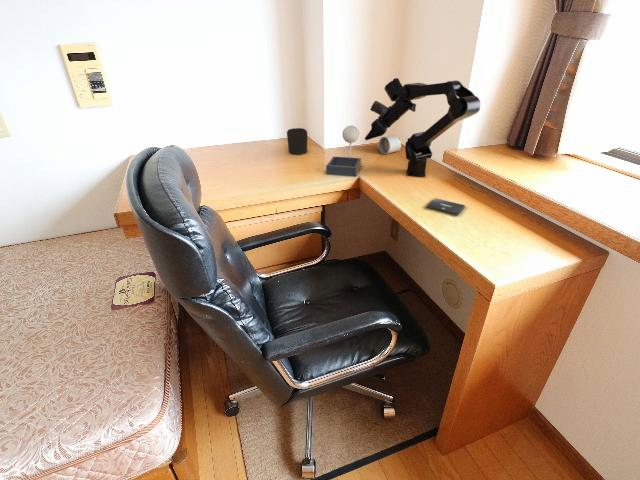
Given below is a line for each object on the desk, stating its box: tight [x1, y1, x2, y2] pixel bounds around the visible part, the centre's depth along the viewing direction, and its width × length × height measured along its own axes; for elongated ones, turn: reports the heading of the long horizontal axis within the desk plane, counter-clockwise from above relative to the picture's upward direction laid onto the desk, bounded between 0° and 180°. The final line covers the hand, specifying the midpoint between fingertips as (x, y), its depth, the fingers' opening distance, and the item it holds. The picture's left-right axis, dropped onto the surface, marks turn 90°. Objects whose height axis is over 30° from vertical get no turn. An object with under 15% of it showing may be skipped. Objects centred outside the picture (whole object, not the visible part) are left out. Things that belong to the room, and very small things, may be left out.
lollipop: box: [342, 125, 360, 158], centre depth 151 cm, size 7×7×15 cm
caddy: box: [326, 156, 362, 177], centre depth 143 cm, size 12×12×4 cm
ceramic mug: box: [377, 135, 402, 155], centre depth 162 cm, size 11×8×8 cm
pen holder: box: [286, 127, 308, 156], centre depth 163 cm, size 9×9×10 cm
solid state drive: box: [427, 197, 466, 216], centre depth 113 cm, size 7×10×1 cm
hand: (368, 136), depth 147 cm, fingers open, 9 cm apart
